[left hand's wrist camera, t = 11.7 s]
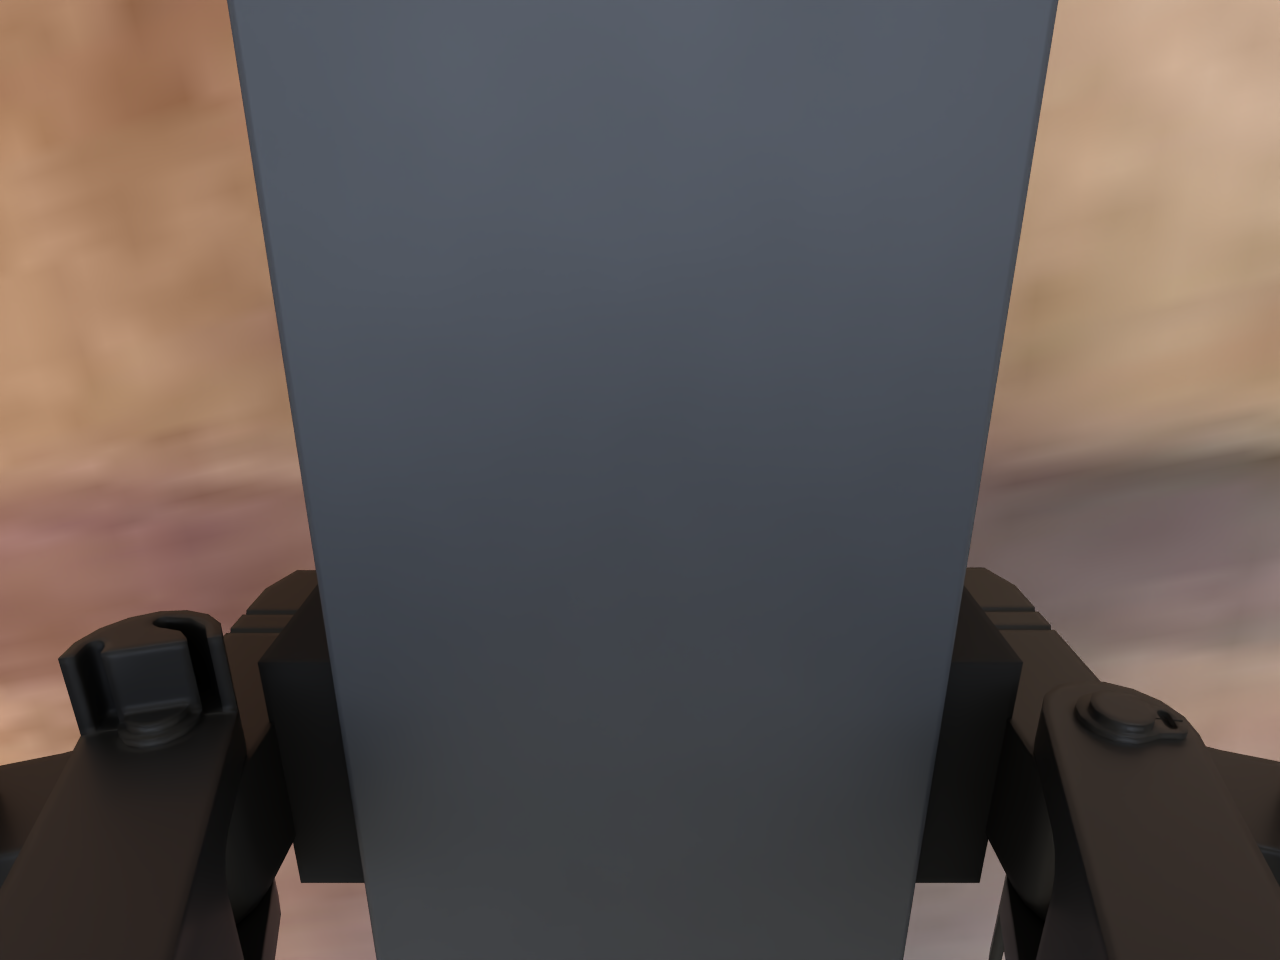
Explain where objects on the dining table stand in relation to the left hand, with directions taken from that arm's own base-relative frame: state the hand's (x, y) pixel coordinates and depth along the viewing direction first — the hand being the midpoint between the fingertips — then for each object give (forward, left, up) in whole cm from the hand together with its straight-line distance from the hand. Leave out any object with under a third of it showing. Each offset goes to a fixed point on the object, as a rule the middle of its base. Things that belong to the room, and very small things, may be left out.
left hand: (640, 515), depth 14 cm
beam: (-29, +6, -1) cm, 30 cm away
